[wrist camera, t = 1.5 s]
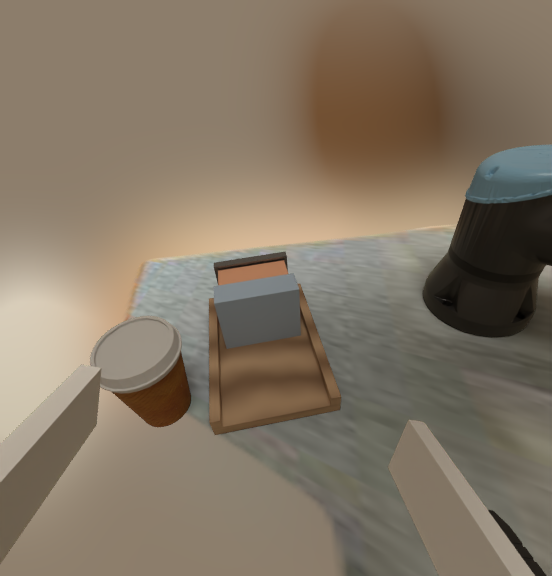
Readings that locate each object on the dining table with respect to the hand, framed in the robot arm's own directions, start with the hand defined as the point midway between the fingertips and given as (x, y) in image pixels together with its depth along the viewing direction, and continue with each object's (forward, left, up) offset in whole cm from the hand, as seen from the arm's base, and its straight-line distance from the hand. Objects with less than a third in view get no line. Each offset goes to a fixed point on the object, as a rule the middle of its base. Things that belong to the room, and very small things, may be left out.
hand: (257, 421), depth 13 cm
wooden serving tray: (-20, -10, -24) cm, 33 cm away
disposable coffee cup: (-9, -20, -24) cm, 32 cm away
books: (-24, -13, -22) cm, 35 cm away
